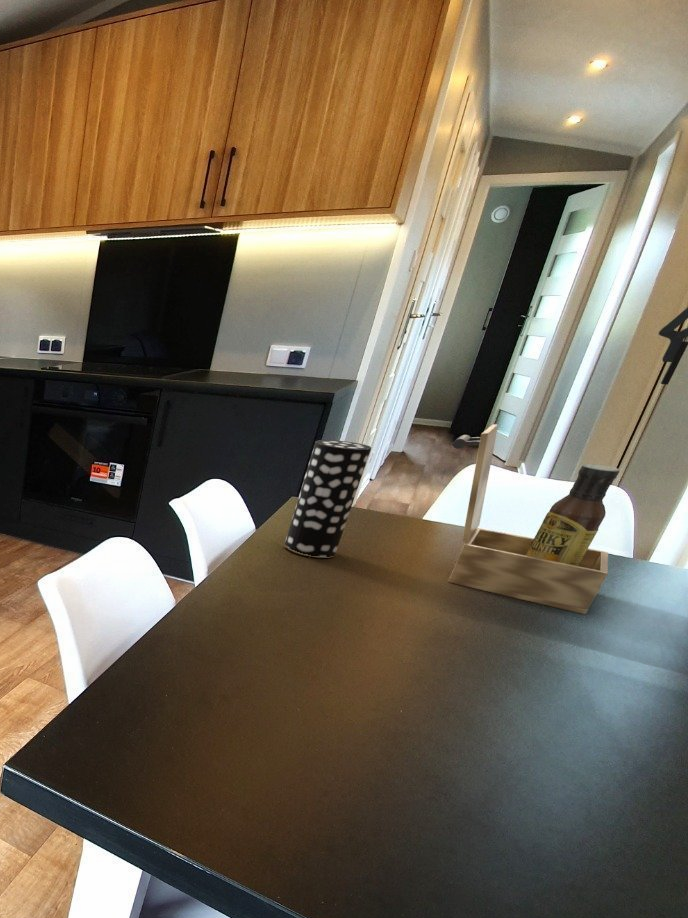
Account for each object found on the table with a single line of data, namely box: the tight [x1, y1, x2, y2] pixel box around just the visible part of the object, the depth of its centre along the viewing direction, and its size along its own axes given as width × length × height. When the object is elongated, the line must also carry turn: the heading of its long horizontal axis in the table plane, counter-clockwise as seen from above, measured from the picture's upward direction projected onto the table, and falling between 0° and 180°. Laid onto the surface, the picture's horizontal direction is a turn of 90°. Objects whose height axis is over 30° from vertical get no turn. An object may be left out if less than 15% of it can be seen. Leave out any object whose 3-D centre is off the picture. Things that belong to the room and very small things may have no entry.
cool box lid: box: [452, 423, 499, 543], centre depth 107 cm, size 17×14×4 cm
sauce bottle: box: [525, 463, 620, 566], centre depth 100 cm, size 6×6×20 cm
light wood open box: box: [447, 527, 609, 615], centre depth 105 cm, size 17×14×7 cm
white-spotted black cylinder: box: [284, 439, 372, 557], centre depth 116 cm, size 8×8×20 cm
